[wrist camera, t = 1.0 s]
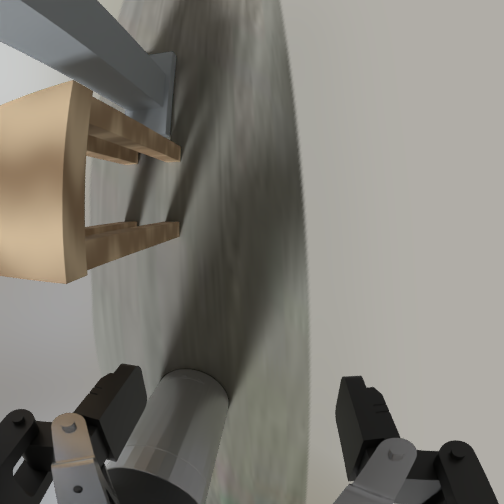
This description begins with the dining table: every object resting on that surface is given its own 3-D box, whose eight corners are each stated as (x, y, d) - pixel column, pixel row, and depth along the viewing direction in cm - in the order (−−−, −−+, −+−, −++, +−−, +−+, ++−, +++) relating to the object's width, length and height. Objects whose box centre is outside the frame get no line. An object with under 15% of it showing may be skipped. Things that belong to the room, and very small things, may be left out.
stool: (181, 238, 33) (66, 283, 13) (123, 237, 33) (-13, 273, 14) (182, 145, 31) (73, 79, 12) (124, 149, 32) (-9, 109, 12)
